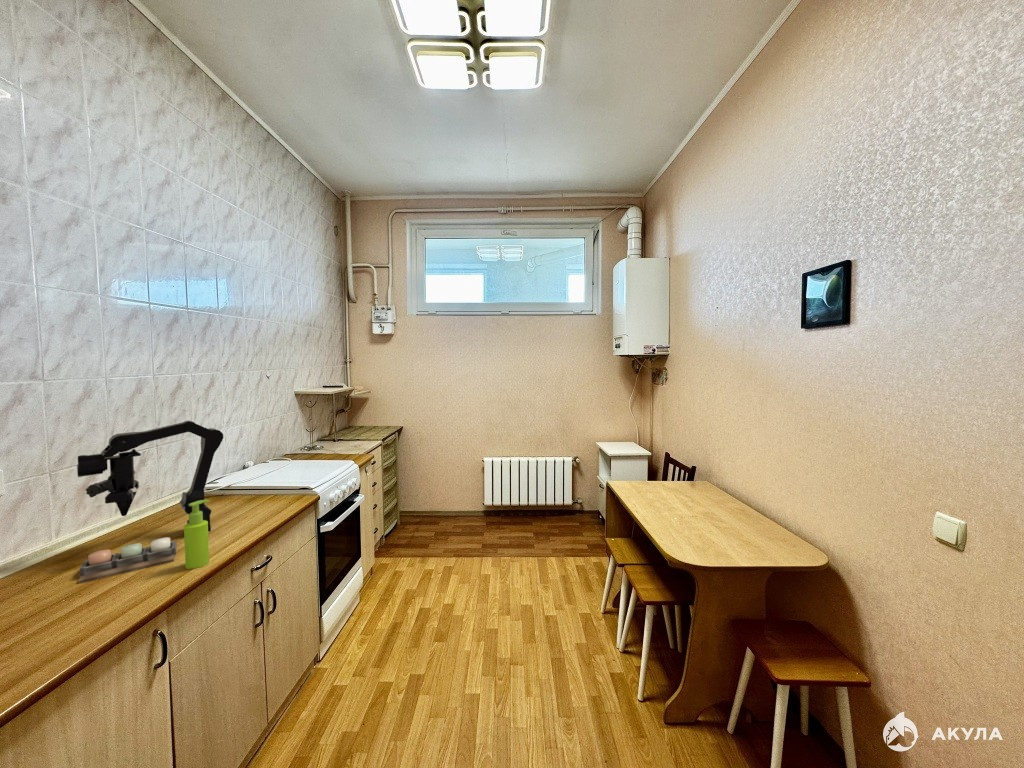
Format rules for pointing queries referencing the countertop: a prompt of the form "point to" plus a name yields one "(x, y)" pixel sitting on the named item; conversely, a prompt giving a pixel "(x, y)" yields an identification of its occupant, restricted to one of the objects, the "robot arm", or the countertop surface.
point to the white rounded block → (160, 544)
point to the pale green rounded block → (131, 550)
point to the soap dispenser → (196, 538)
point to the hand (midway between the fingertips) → (124, 515)
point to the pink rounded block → (99, 557)
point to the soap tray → (126, 563)
